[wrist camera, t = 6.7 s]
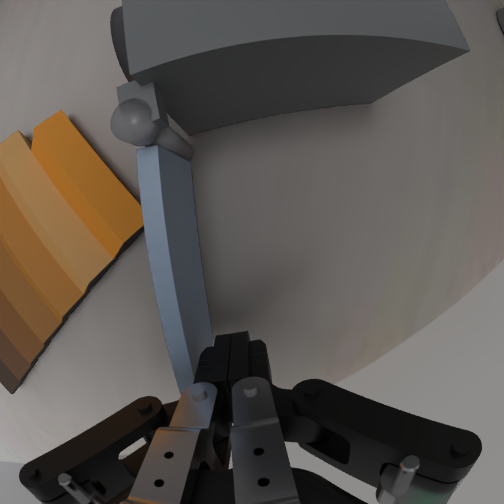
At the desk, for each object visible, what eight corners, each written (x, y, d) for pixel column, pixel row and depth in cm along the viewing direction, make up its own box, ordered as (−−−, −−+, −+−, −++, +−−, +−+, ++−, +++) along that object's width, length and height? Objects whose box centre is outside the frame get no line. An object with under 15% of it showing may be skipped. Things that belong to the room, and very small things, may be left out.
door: (216, 338, 18) (206, 410, 11) (192, 339, 18) (173, 410, 11) (192, 140, 16) (161, 109, 9) (165, 144, 15) (119, 118, 9)
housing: (335, 9, 14) (396, -82, 4) (377, 127, 16) (498, 86, 6) (149, 39, 14) (85, -58, 4) (174, 167, 16) (83, 141, 6)
